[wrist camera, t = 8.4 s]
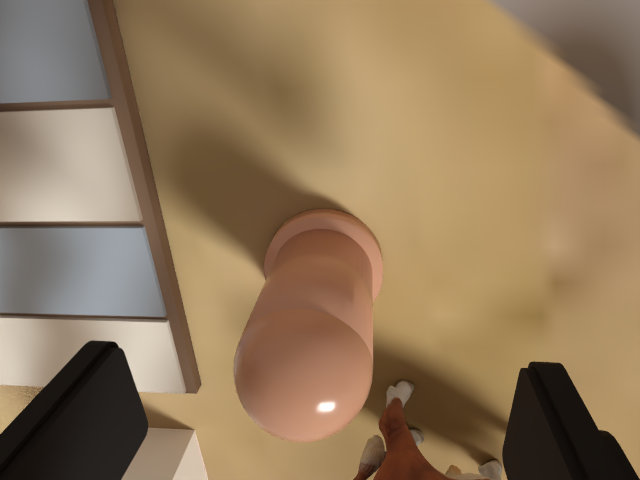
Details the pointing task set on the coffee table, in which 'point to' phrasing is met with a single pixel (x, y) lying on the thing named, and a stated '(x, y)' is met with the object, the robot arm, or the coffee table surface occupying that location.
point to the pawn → (311, 328)
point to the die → (168, 457)
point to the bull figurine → (408, 448)
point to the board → (80, 205)
